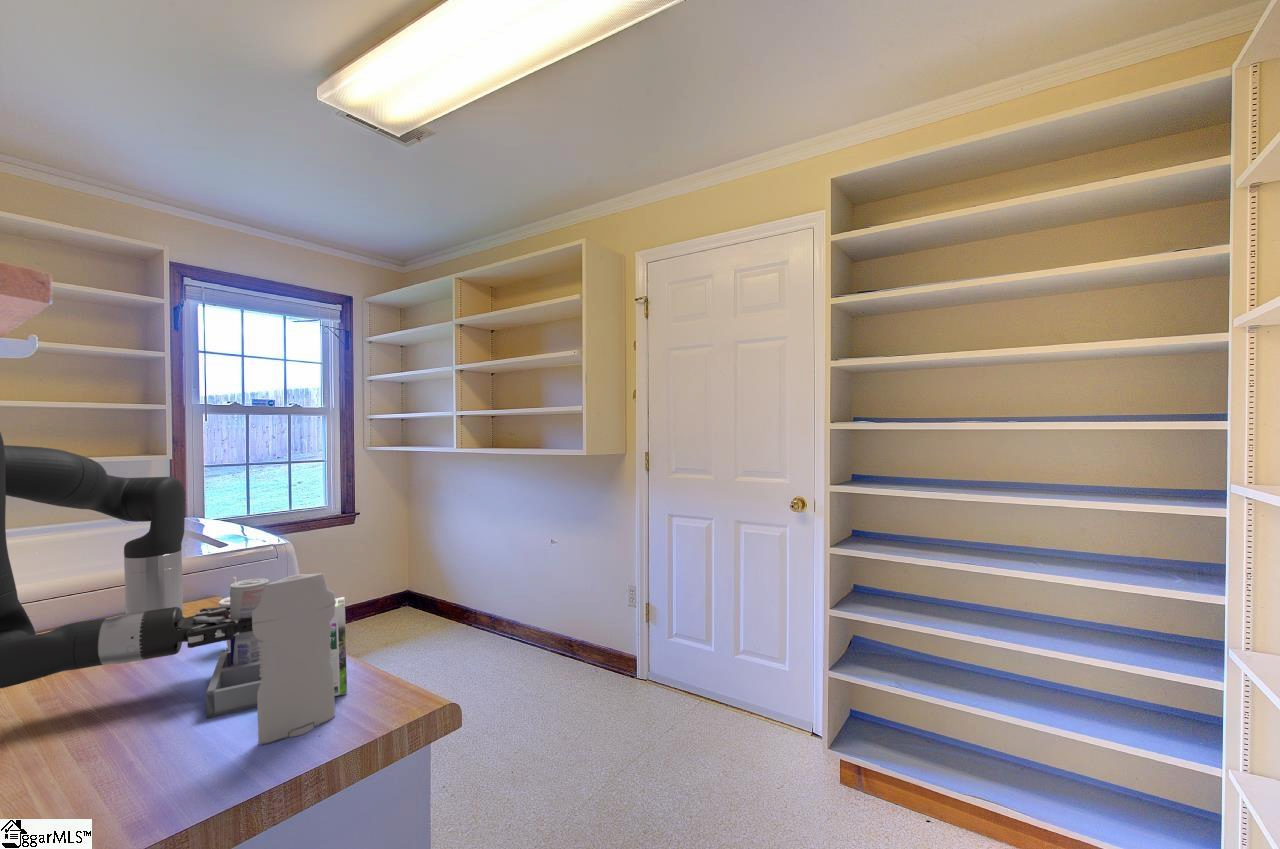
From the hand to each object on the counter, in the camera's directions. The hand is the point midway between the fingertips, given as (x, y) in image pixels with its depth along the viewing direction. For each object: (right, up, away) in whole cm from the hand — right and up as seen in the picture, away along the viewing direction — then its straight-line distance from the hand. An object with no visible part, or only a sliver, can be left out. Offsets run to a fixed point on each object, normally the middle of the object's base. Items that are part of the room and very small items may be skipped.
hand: (267, 616), depth 100 cm
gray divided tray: (0, -10, -5) cm, 11 cm away
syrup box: (+15, -10, -8) cm, 19 cm away
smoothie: (-13, -10, +12) cm, 21 cm away
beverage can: (-2, -9, -1) cm, 9 cm away
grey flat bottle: (+17, -10, -19) cm, 27 cm away
